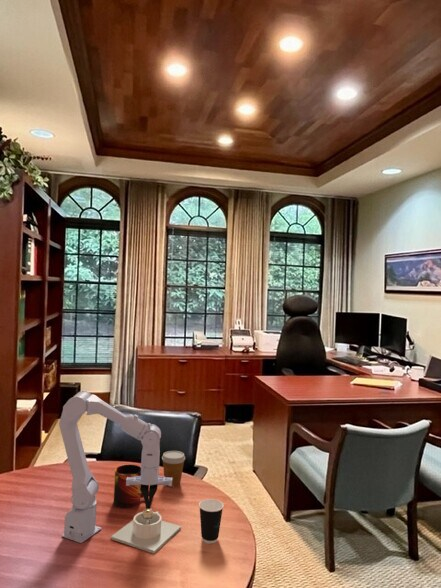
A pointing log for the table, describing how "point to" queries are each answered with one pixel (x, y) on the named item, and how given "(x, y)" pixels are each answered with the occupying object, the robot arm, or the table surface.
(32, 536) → the table surface
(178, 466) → the disposable coffee cup
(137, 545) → the white square-based fixture
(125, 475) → the mug
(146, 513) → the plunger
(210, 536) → the dixie cup
